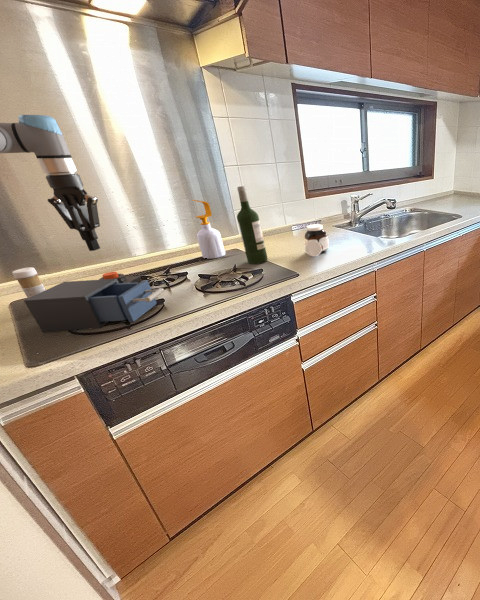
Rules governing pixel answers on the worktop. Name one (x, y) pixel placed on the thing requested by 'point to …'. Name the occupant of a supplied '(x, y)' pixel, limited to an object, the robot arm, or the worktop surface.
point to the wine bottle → (251, 231)
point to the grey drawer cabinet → (67, 305)
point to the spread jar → (316, 240)
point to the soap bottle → (209, 237)
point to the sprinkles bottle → (29, 281)
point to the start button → (110, 275)
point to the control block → (127, 279)
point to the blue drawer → (124, 301)
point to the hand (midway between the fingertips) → (94, 249)
